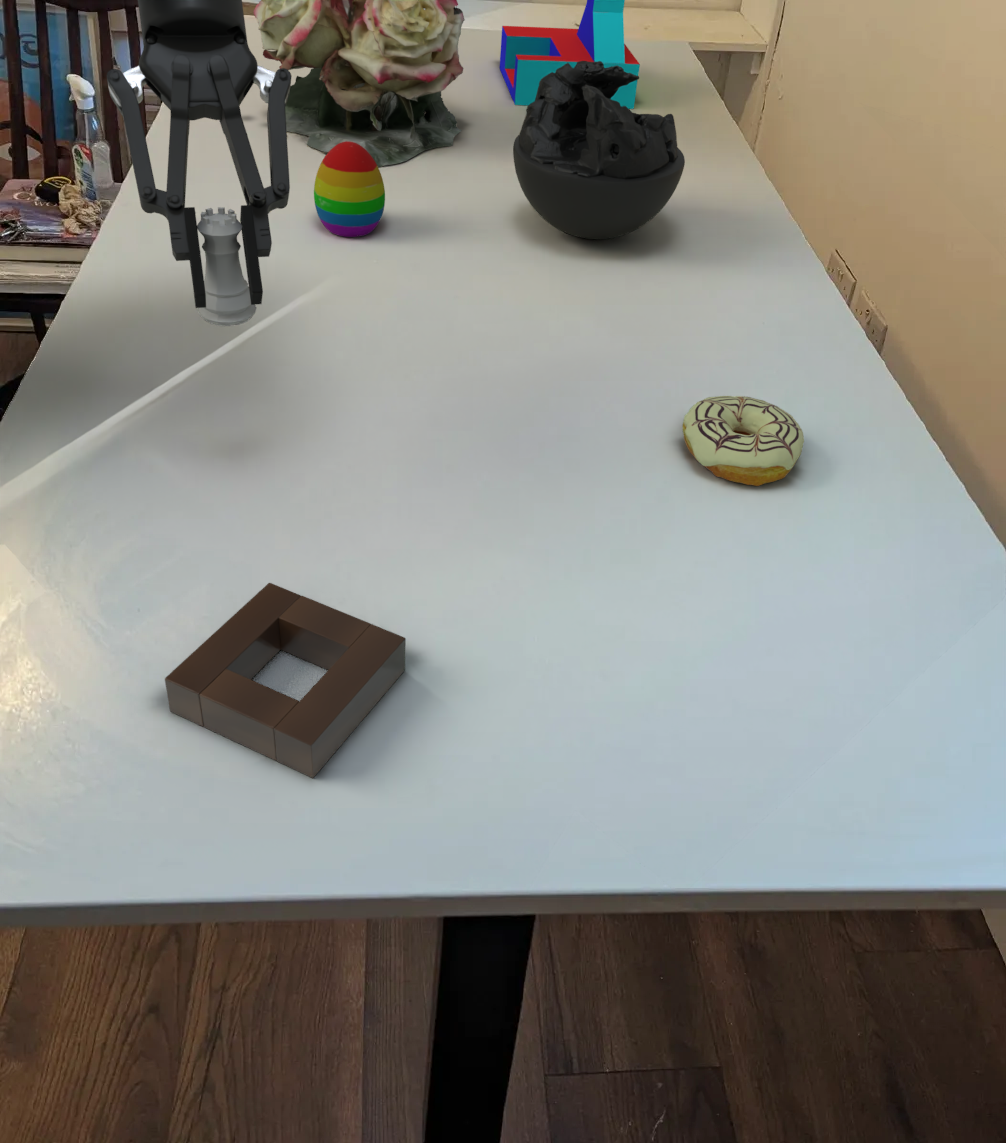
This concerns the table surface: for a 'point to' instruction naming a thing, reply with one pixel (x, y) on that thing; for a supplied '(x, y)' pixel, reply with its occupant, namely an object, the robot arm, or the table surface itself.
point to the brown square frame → (267, 717)
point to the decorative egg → (349, 191)
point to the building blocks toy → (567, 51)
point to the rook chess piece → (223, 270)
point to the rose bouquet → (367, 71)
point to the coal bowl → (594, 154)
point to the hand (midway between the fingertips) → (228, 299)
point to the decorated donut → (743, 438)
